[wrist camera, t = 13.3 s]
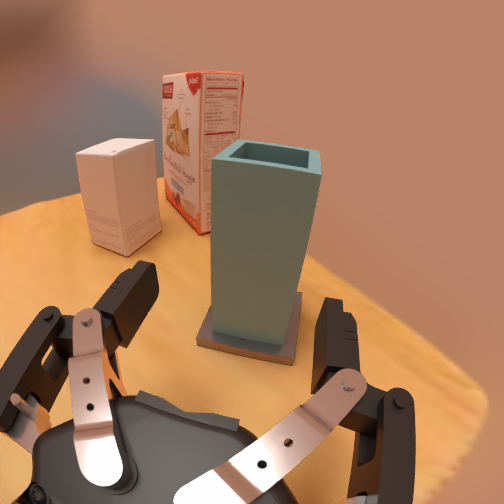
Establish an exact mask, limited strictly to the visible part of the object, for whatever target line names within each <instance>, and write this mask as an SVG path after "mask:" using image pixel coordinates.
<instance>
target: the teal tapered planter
mask: <svg viewBox="0 0 504 504" xmlns="http://www.w3.org/2000/svg"><path fill="white" fill-rule="evenodd" d="M321 176H322V174H321V164H320V156H319V151H316V150H311V149H305V148H299V147H292V146H286V145H280V144H272V143H265V142H257V141H248V140H239V139H238V140H237V141H236V142H234V143H233V144H231V145H230V146H229V147H227V148H226V149H225V150H223V151H222V152H220V153H219V154H218V155H216V156H215V157H214V158H212V170H211V303H212V331H213V332H217V333H221V334H226V335H230V336H234V337H239V338H244V339H248V340H253V341H258V342H263V343H268V344H273V345H279V346H282V344H283V341H284V337H285V333H286V330H287V326H288V322H289V319H290V315H291V311H292V307H293V303H294V299H295V295H296V291H297V287H298V283H299V279H300V275H301V271H302V266H303V262H304V258H305V253H306V249H307V244H308V240H309V235H310V230H311V226H312V221H313V217H314V211H315V207H316V202H317V196H318V192H319V186H320V180H321Z"/></svg>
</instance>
